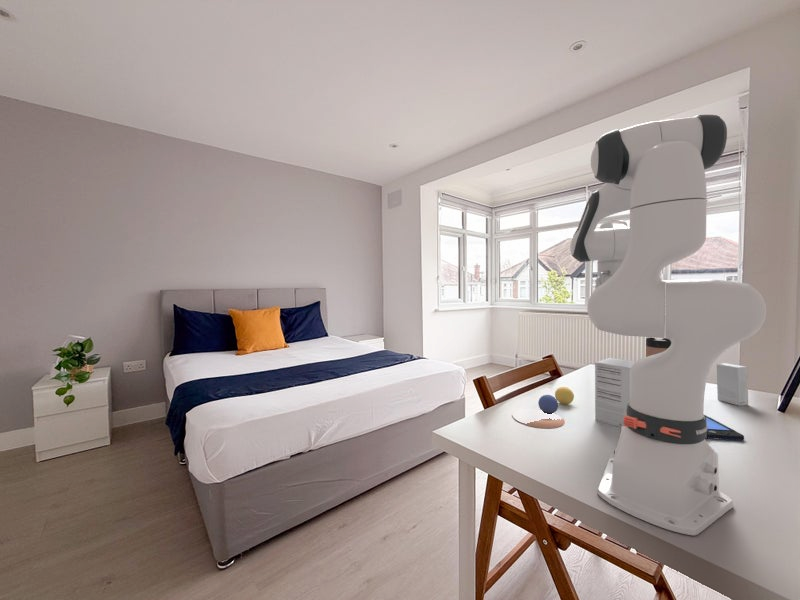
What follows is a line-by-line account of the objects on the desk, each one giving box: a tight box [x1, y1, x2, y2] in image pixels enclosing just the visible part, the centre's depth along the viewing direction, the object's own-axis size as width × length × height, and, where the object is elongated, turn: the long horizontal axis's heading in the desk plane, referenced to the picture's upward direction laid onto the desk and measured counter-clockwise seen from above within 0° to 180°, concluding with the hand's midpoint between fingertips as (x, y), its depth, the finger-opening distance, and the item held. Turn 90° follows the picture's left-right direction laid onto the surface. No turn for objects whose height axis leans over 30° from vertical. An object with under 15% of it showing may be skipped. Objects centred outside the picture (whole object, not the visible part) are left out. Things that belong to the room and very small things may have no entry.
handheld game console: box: [703, 414, 745, 442], centre depth 88 cm, size 16×13×9 cm
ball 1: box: [537, 394, 559, 414], centre depth 100 cm, size 6×6×6 cm
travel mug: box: [645, 337, 671, 357], centre depth 111 cm, size 8×8×20 cm
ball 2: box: [554, 386, 575, 405], centre depth 107 cm, size 6×6×6 cm
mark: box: [525, 418, 565, 429], centre depth 96 cm, size 14×14×1 cm
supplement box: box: [594, 357, 637, 428], centre depth 93 cm, size 10×9×17 cm
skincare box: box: [716, 362, 749, 407], centre depth 106 cm, size 6×4×12 cm
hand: (612, 312), depth 110 cm, fingers closed
